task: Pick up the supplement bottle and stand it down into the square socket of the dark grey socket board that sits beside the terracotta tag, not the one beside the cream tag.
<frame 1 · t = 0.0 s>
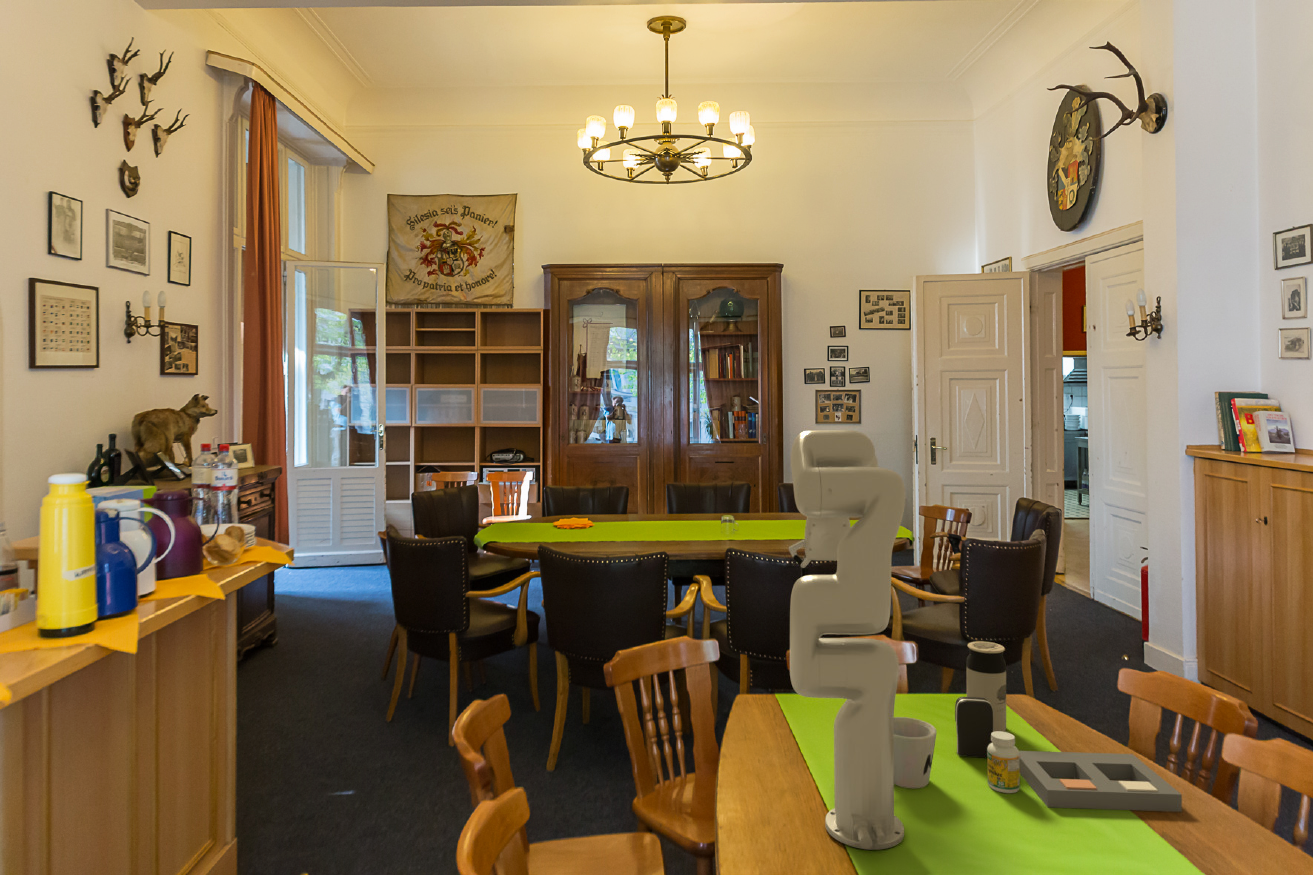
hand: (828, 584, 170), 31 cm above the table, tool pointing down, fingers open, 9 cm apart
socket board: (1092, 787, 139), on the table
battery charger: (973, 755, 154), on the table
supplement bottle: (1003, 788, 140), on the table
travel mug: (986, 728, 167), on the table
mug: (895, 779, 144), on the table
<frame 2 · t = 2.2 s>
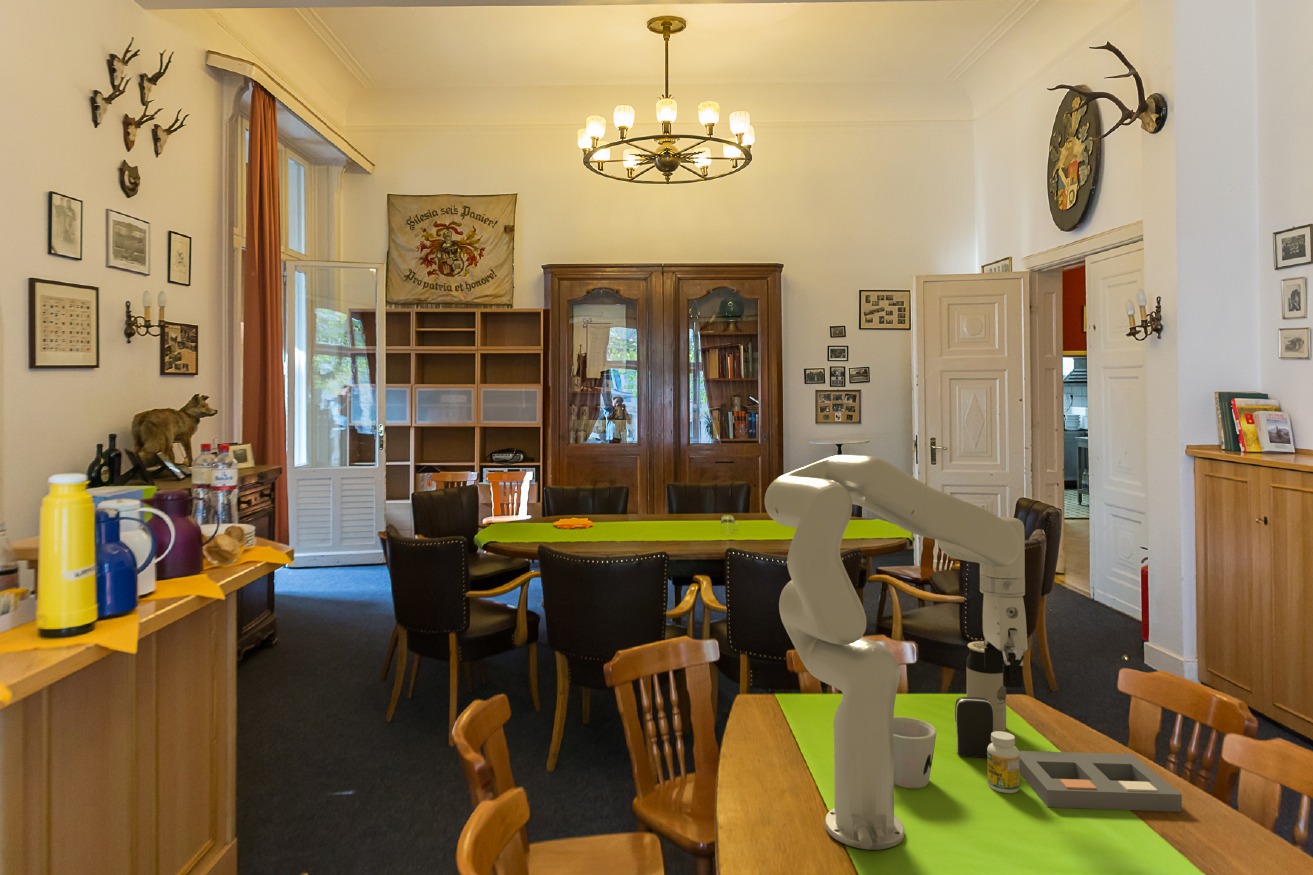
hand: (1002, 677, 140), 20 cm above the table, tool pointing down, fingers open, 9 cm apart
nothing on the table moved.
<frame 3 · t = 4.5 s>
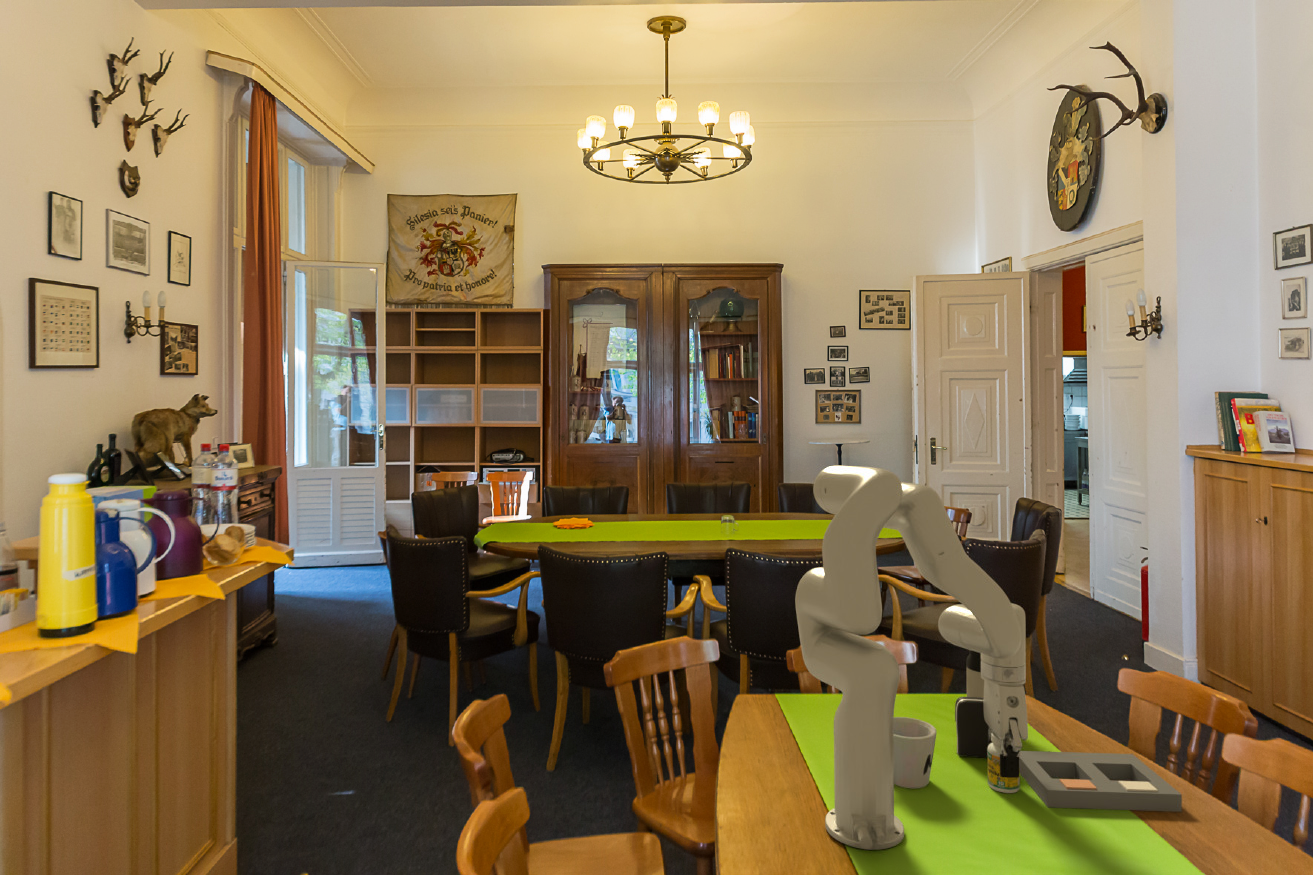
hand: (1003, 768, 140), 4 cm above the table, tool pointing down, fingers closed on supplement bottle, 5 cm apart
supplement bottle: (1003, 788, 140), on the table, touching gripper
everything else where it was.
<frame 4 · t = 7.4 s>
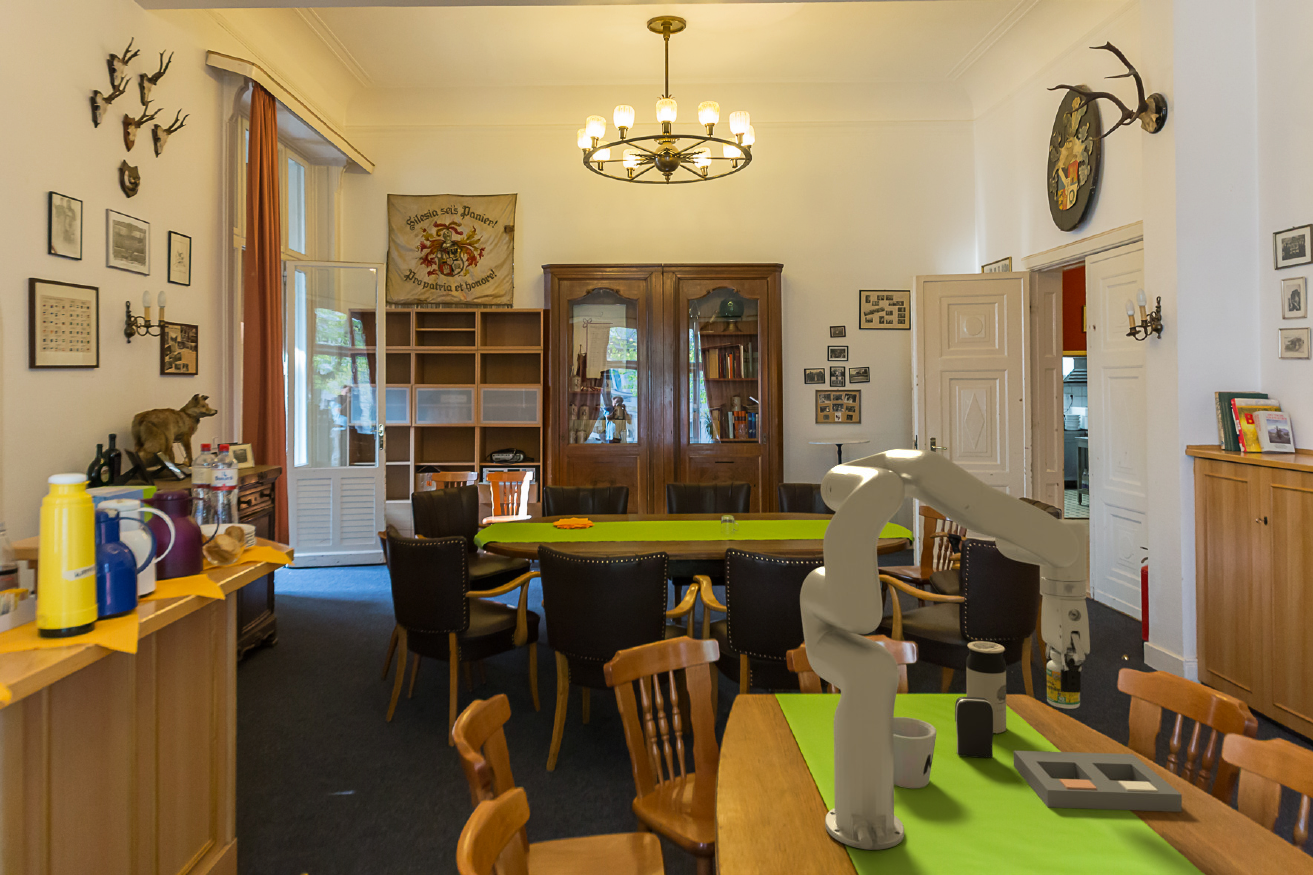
hand: (1063, 684, 139), 19 cm above the table, tool pointing down, fingers closed on supplement bottle, 5 cm apart
supplement bottle: (1063, 704, 140), point 15 cm above the table, touching gripper
everything else where it was.
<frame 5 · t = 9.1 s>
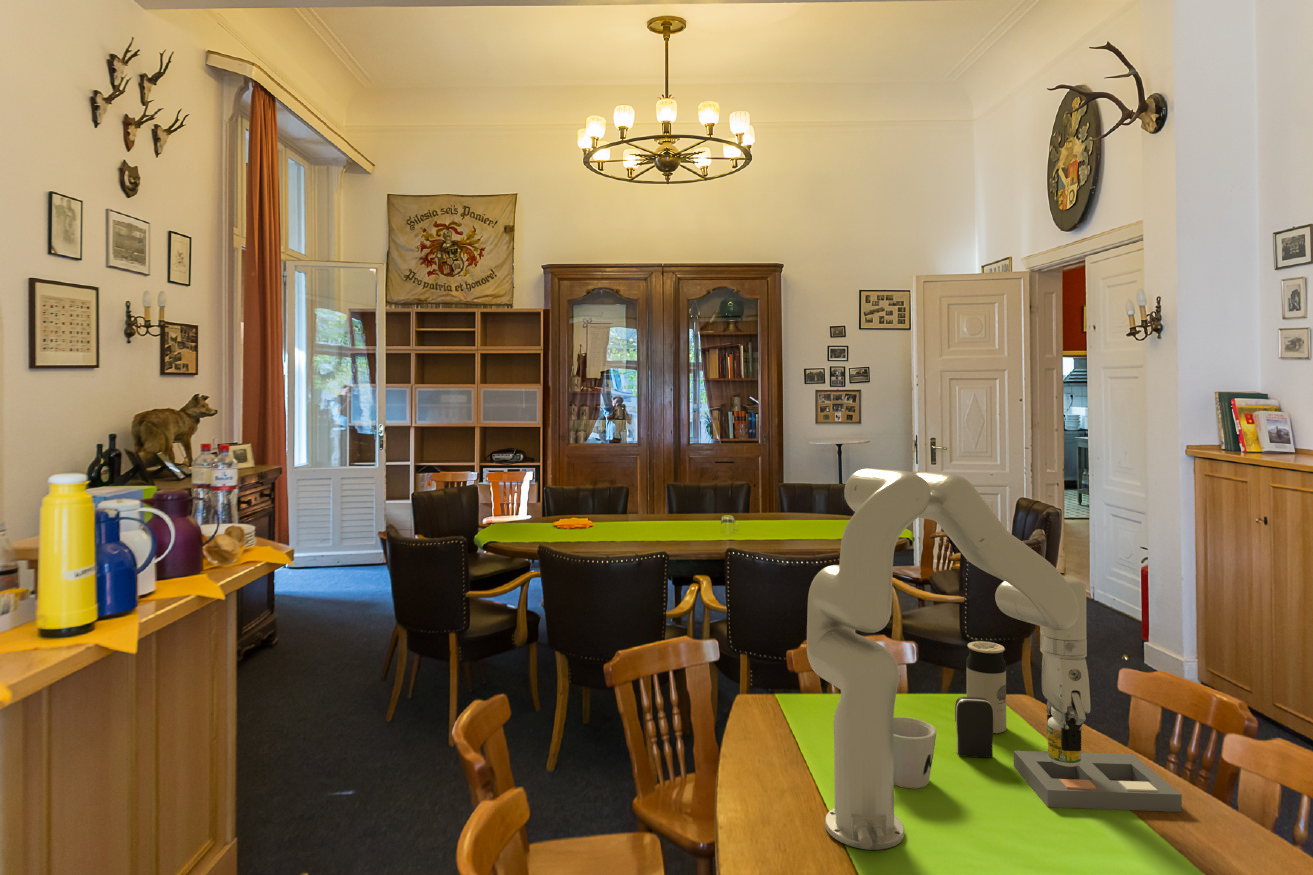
hand: (1063, 742, 140), 8 cm above the table, tool pointing down, fingers closed on supplement bottle, 5 cm apart
supplement bottle: (1064, 761, 140), point 5 cm above the table, touching gripper
everything else where it was.
when the fingers open (4 cm above the table, at t = 10.4 s): supplement bottle stays where it is, resting in socket board.
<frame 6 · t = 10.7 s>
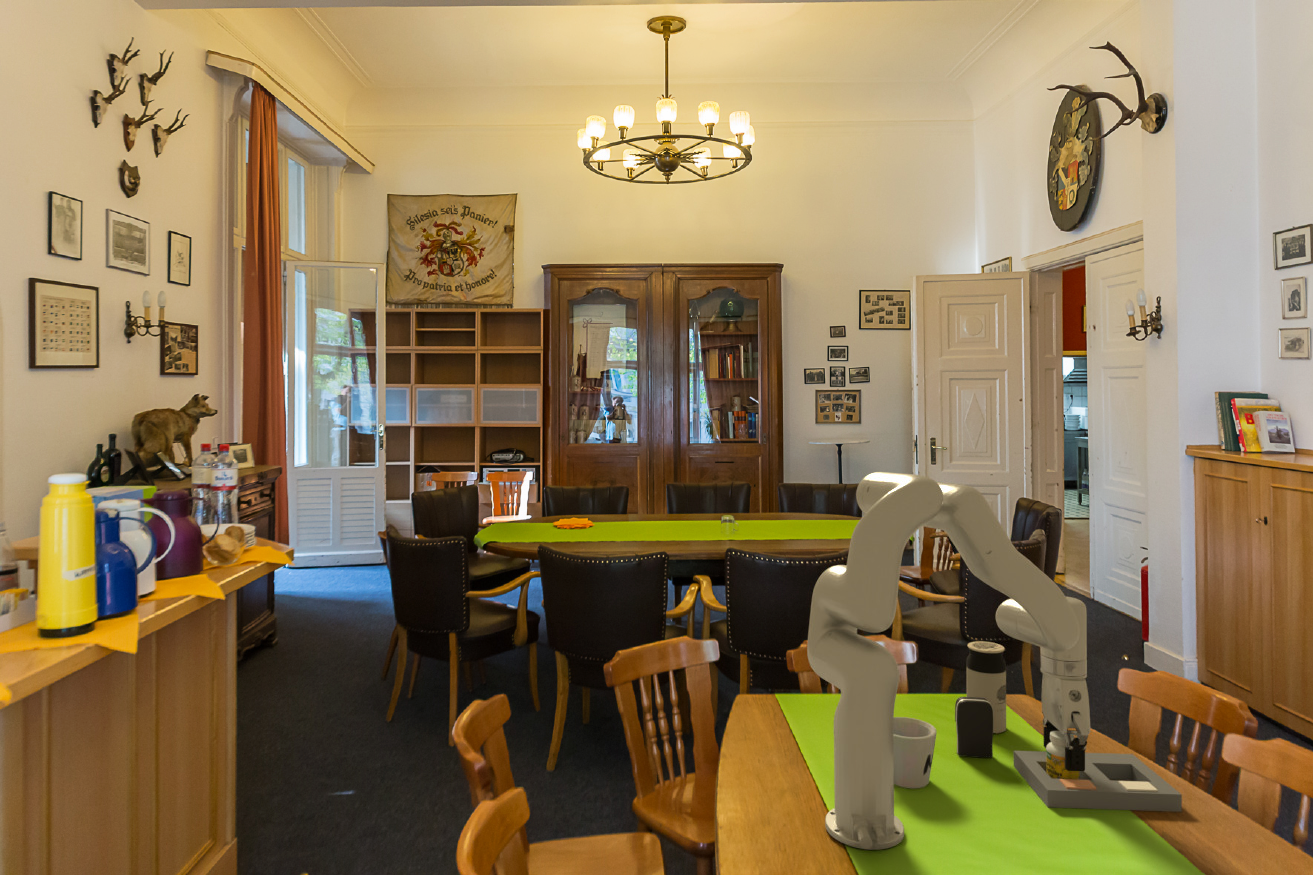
hand: (1063, 758, 140), 5 cm above the table, tool pointing down, fingers open, 8 cm apart
supplement bottle: (1062, 787, 140), resting in socket board
everything else where it was.
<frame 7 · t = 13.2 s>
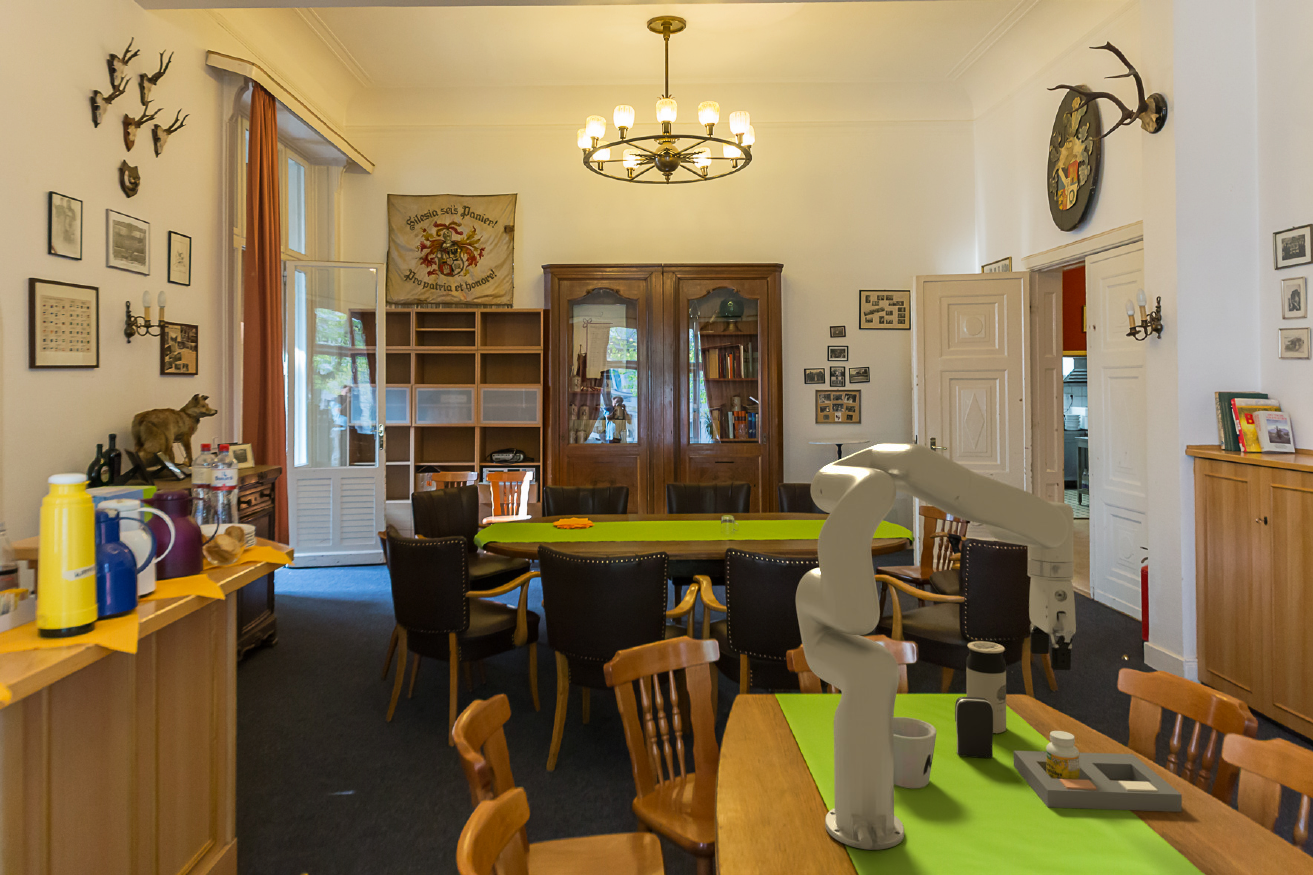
hand: (1049, 661, 141), 23 cm above the table, tool pointing down, fingers open, 9 cm apart
nothing on the table moved.
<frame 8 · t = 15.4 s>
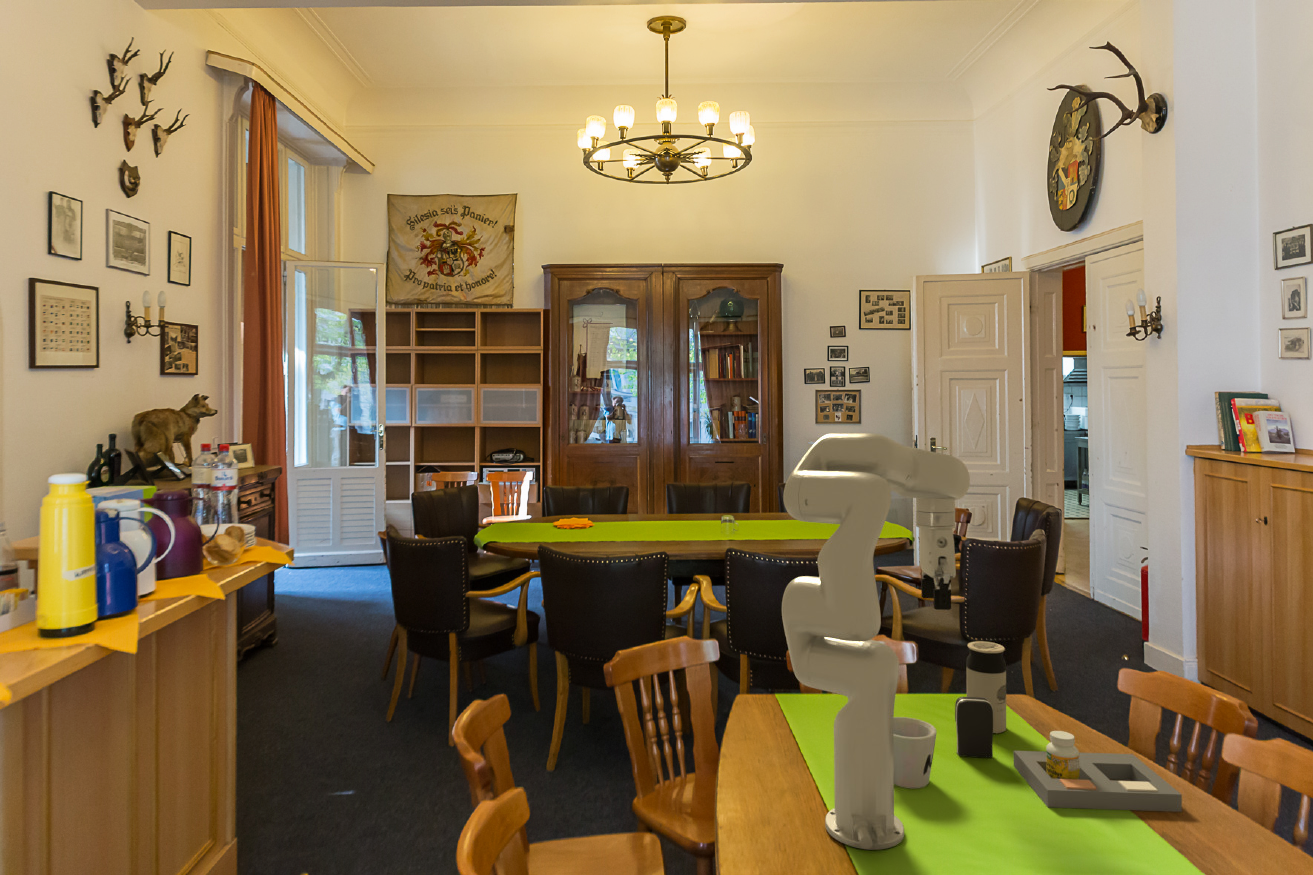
hand: (935, 603, 155), 30 cm above the table, tool pointing down, fingers open, 9 cm apart
nothing on the table moved.
at the end: supplement bottle 0.2 cm from the target spot on the socket board, point 0.0 cm above the socket board's base; supplement bottle tilted 0°; the gripper is holding nothing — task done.
